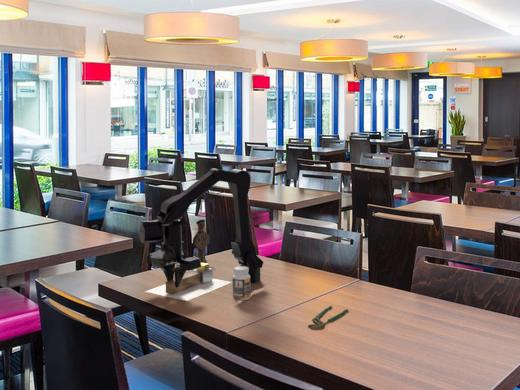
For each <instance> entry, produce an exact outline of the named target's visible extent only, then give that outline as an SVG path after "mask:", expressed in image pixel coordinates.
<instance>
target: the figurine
mask: <svg viewBox="0 0 520 390" xmlns="http://www.w3.org/2000/svg"><path fill="white" fill-rule="evenodd" d="M195 224H196V225H197V229H198V230H197V232H196V233H195V235H194V236H193V238H192V245H193V247H194V248H195V249H197V250H198V258H199V259H200V261H201V263H207V264H209V263H208V261H207V259H206V248H207V246H208V245H209V244H210V234H208V232H206V231H205V230H204V228H205V226H206V220H205V219H203V218H202V219H199V220H197V221H196V223H195Z"/></svg>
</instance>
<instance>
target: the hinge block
mask: <svg viewBox="0 0 520 390" xmlns="http://www.w3.org/2000/svg"><path fill="white" fill-rule="evenodd" d="M192 272H195V273H199V277H200V284H206V283H209V282H211V281H212V278H213V268H211V267H209V269H208V270H205V271H201V270H196V269H193V270H192Z"/></svg>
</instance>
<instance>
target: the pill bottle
mask: <svg viewBox="0 0 520 390" xmlns="http://www.w3.org/2000/svg"><path fill="white" fill-rule="evenodd" d="M233 272H234V274H233V275H232V297H233V298H238V301H247V300H250V298H251V297H252V296H251V295H252V294H251V293H252V291H251V290H252V289H251V287H252V286H251V284H252V283H251V277H250V275H249V274H248V272H249V268H248V267H245V266H241V265H240V266H239V265H237V266H235V267H234V268H233Z"/></svg>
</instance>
